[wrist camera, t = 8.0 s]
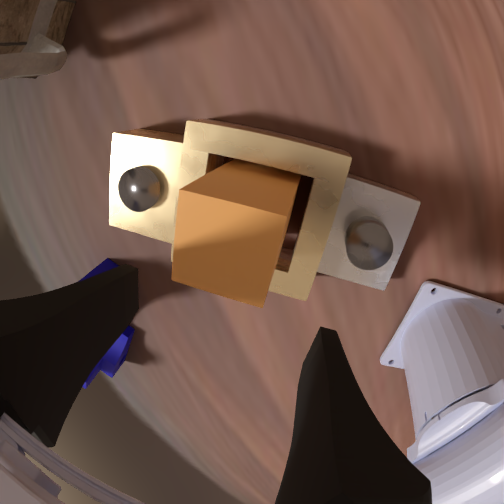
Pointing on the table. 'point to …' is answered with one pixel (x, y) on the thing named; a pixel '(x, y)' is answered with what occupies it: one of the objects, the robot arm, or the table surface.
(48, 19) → the mug
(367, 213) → the square frame connector
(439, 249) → the table surface
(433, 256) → the table surface
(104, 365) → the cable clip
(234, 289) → the orange rectangular peg
